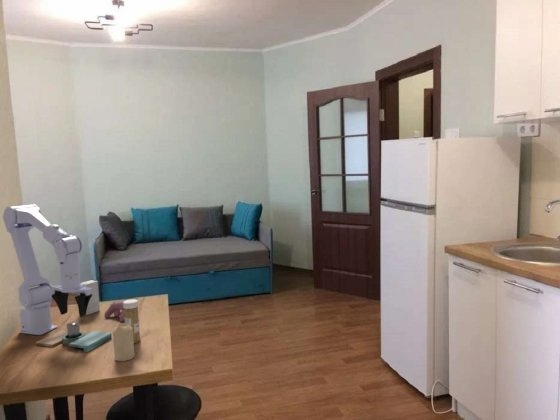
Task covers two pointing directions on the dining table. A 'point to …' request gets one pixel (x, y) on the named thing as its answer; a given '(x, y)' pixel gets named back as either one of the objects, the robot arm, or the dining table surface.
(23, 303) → the robot arm
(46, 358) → the dining table surface
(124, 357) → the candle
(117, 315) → the video game controller
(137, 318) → the sprinkles bottle
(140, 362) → the dining table surface
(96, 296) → the skincare box
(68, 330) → the pin
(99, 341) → the hinge
